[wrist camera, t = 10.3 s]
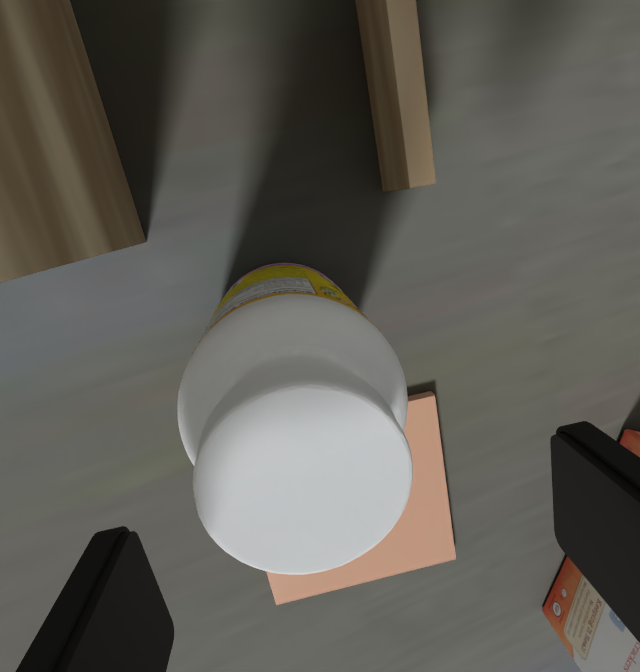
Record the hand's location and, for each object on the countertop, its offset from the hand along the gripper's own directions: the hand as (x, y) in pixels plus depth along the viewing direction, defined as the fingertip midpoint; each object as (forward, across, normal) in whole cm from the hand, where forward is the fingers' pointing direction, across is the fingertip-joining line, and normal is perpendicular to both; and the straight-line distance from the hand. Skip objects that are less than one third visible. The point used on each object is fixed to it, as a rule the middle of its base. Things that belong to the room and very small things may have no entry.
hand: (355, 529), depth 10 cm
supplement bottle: (+13, +1, -1) cm, 13 cm away
